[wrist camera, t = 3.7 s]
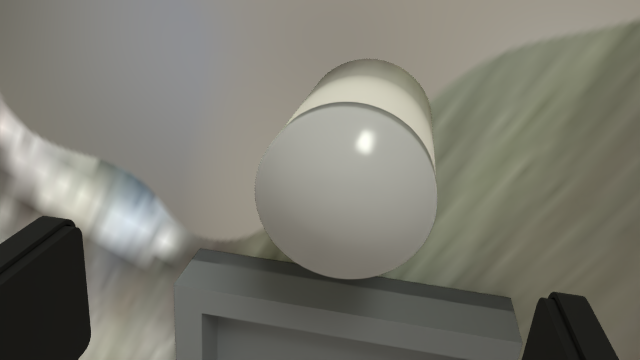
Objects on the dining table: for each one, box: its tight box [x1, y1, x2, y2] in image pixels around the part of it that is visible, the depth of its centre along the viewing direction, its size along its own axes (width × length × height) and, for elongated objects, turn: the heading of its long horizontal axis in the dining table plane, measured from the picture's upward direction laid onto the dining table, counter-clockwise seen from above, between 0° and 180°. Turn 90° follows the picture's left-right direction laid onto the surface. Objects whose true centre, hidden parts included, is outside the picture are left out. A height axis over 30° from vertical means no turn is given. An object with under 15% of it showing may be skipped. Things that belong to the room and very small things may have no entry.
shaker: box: [255, 59, 437, 279], centre depth 18 cm, size 5×5×8 cm
